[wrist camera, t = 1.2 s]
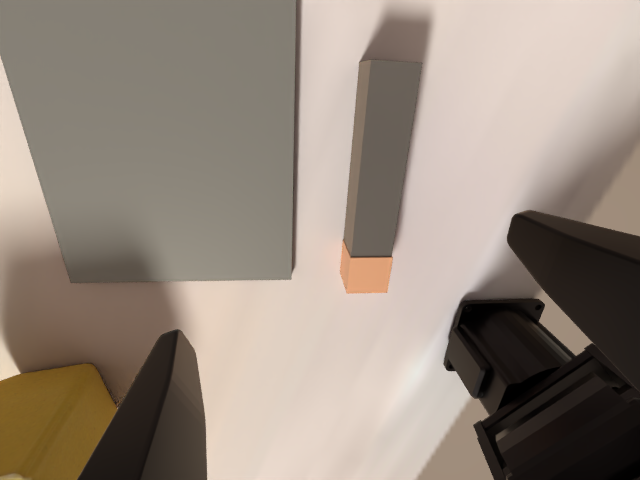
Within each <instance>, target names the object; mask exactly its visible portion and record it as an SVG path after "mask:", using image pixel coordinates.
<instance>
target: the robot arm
mask: <svg viewBox="0 0 640 480" xmlns="http://www.w3.org/2000/svg"><path fill="white" fill-rule="evenodd" d="M507 242H508V244H509V246H510V248H511V249H512V250H513V252H514V253H515V254H516V255H517V257H518V258H519V259H520V261H521V262H522V263H523V265H524V266H525V267H526V268H527V270H528V271H529V272H530V274H531V275H532V276H533V277H534V279H535V280H536V281H537V283H538V284H539V285H540V286H541V288H542V289H543V290H544V291H545V292H546V293H547V294H548V295H549V297H550V298H551V299H552V300H553V301H554V302H555V303H556V304H557V305H558V306H559V307H560V308H561V309H562V310H563V311H564V312H565V314H566V315H567V316H568V317H569V318H570V319H571V320H572V321H573V322H574V323H575V324H576V325H577V326H578V327H579V328H580V329H581V331H582V332H583V333H584V334H585V335H586V336H587V337H588V338H589V339H590V340H591V341H592V342H593V343H594V344H595V345H596V346H595V345H594V344H593V343H591V344H590V345H589V346H587V347H586V348H584V349H585V350H584V351H583V352H582V353H580V354H579V355H577V356H575V355H574V354H573V353H572V352H571V351H570V350H569V349H568V348H567V347H566V346H564V344H562V343H561V342H560V341H559V340H558V339H557V338H556V337H555V336H553V334H552V333H551V332H549V331H548V330H547V329H546V328H545V327H544V326H543V325H542V324H540V323H539V319H540V317H541V314H542V312H543V310H544V307H545V304H544V303H543V302H542V301H541V300H539V299H507V300H467V301H464V302H462V303H461V304H460V306H459V309H458V313H457V316H456V320H455V323H454V327H453V329H452V332H451V336H450V339H449V343H448V346H447V350H446V356H445V360H444V366H445V368H446V370H448V371H456V372H457V374H458V375H459V377H460V378H461V380H462V382H463V383H464V385H465V387H466V388H467V390H468V391H469V393H470V395H471V396H472V397H473V398H475V399H477V398H479V400H480V401H481V403H482V405H483V406H484V408H485V409H486V411H487V412H488V414H489V416H488V417H487V418H485V419H484V420H483V421H481V420H480V421H478V422H477V423H475V424H474V425H473V426H474V428H475V431H476V433H477V436H478V438H477V439H478V441H479V444H480V446H481V449H482V451H483V454H484V456H485V458H486V461H487V463H488V465H489V468H490V470H491V473H492V475H493V478H494V480H640V236H636V235H632V234H627V233H623V232H619V231H615V230H611V229H607V228H603V227H599V226H594V225H590V224H586V223H582V222H578V221H574V220H570V219H566V218H561V217H557V216H553V215H549V214H545V213H541V212H536V211H532V210H526V211H523V212H520V213H517V214H515V215H514V216H513V217H512V220H511V224H510V227H509V231H508V235H507ZM467 307H468V308H467ZM466 308H467V309H466ZM77 480H207V457H206V424H205V413H204V405H203V398H202V392H201V385H200V378H199V371H198V364H197V358H196V353H195V351H194V348H193V347H192V345H191V344H190V342H189V341H188V340H187V338H186V337H185V335H184V334H183V332H182V331H181V330H178V329H177V330H173V331H170V332H168V333H165V334H162V335H161V336H160V337H159V339H158V340H157V342H156V344H155V346H154V347H153V349H152V351H151V352H150V354H149V356H148V358H147V359H146V361H145V363H144V364H143V366H142V368H141V370H140V371H139V373H138V375H137V377H136V378H135V380H134V382H133V383H132V385H131V387H130V389H129V390H128V392H127V394H126V396H125V397H124V399H123V401H122V402H121V404H120V406H119V408H118V409H117V411H116V413H115V415H114V416H113V418H112V420H111V421H110V423H109V425H108V427H107V428H106V430H105V432H104V433H103V435H102V437H101V439H100V440H99V442H98V444H97V446H96V447H95V449H94V451H93V452H92V454H91V456H90V458H89V459H88V461H87V463H86V465H85V466H84V468H83V470H82V471H81V473H80V475H79V477H78V478H77Z"/></svg>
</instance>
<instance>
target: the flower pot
mask: <svg viewBox="0 0 640 480" xmlns="http://www.w3.org/2000/svg"><path fill="white" fill-rule="evenodd" d="M116 411H117V407H116V406H115V404H114V402H113V400H112V398H111V396H110V394H109V392H108V390H107V388H106V386H105V384H104V382H103V380H102V378H101V376H100V374H99V372H98V371H97V369H96V367H95V366H94V365H92V364H79V365H73V366H67V367H61V368H55V369H49V370H41V371H35V372H28V373H22V374H19V375H16V376H13V377H10V378H7V379H5V380H2V381H0V480H77V478H78V477H79V475H80V473H81V471H82V470H83V468H84V466H85V465H86V463H87V461H88V459H89V458H90V456H91V454H92V452H93V451H94V449H95V447H96V446H97V444H98V442H99V440H100V439H101V437H102V435H103V433H104V432H105V430H106V428H107V427H108V425H109V423H110V421H111V420H112V418H113V416H114V415H115V413H116Z"/></svg>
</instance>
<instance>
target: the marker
mask: <svg viewBox="0 0 640 480" xmlns="http://www.w3.org/2000/svg"><path fill="white" fill-rule="evenodd" d="M421 68H422V63H418V62H403V61H388V60H373V59H371V60H367V61H363V62H359V72H358V83H357V94H356V106H355V117H354V128H353V140H352V151H351V162H350V173H349V185H348V196H347V207H346V218H345V230H344V240H343V244H342V255H341V266H340V274H341V277H342V280H343V283H344V286H345V289H346V292H347V293H387V291H388V284H389V278H390V272H391V266H392V260H393V257H392V250H393V244H394V238H395V231H396V225H397V219H398V213H399V206H400V200H401V194H402V187H403V181H404V175H405V169H406V162H407V156H408V150H409V143H410V137H411V131H412V125H413V118H414V112H415V106H416V99H417V93H418V87H419V81H420V74H421Z"/></svg>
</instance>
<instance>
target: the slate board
mask: <svg viewBox="0 0 640 480" xmlns="http://www.w3.org/2000/svg"><path fill="white" fill-rule="evenodd" d="M295 38H296V0H0V56H1V59H2V62H3V65H4V68H5V72H6V75H7V78H8V81H9V85H10V88H11V91H12V94H13V97H14V101H15V104H16V107H17V110H18V114H19V117H20V120H21V123H22V127H23V130H24V133H25V136H26V139H27V143H28V146H29V149H30V152H31V156H32V159H33V162H34V165H35V168H36V172H37V175H38V178H39V181H40V185H41V188H42V191H43V194H44V198H45V201H46V204H47V207H48V210H49V214H50V217H51V220H52V223H53V227H54V230H55V233H56V236H57V239H58V243H59V246H60V249H61V252H62V256H63V259H64V262H65V265H66V269H67V272H68V275H69V278H70V281H71V283H100V282H165V281H230V280H291V274H292V215H293V156H294V97H295Z"/></svg>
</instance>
